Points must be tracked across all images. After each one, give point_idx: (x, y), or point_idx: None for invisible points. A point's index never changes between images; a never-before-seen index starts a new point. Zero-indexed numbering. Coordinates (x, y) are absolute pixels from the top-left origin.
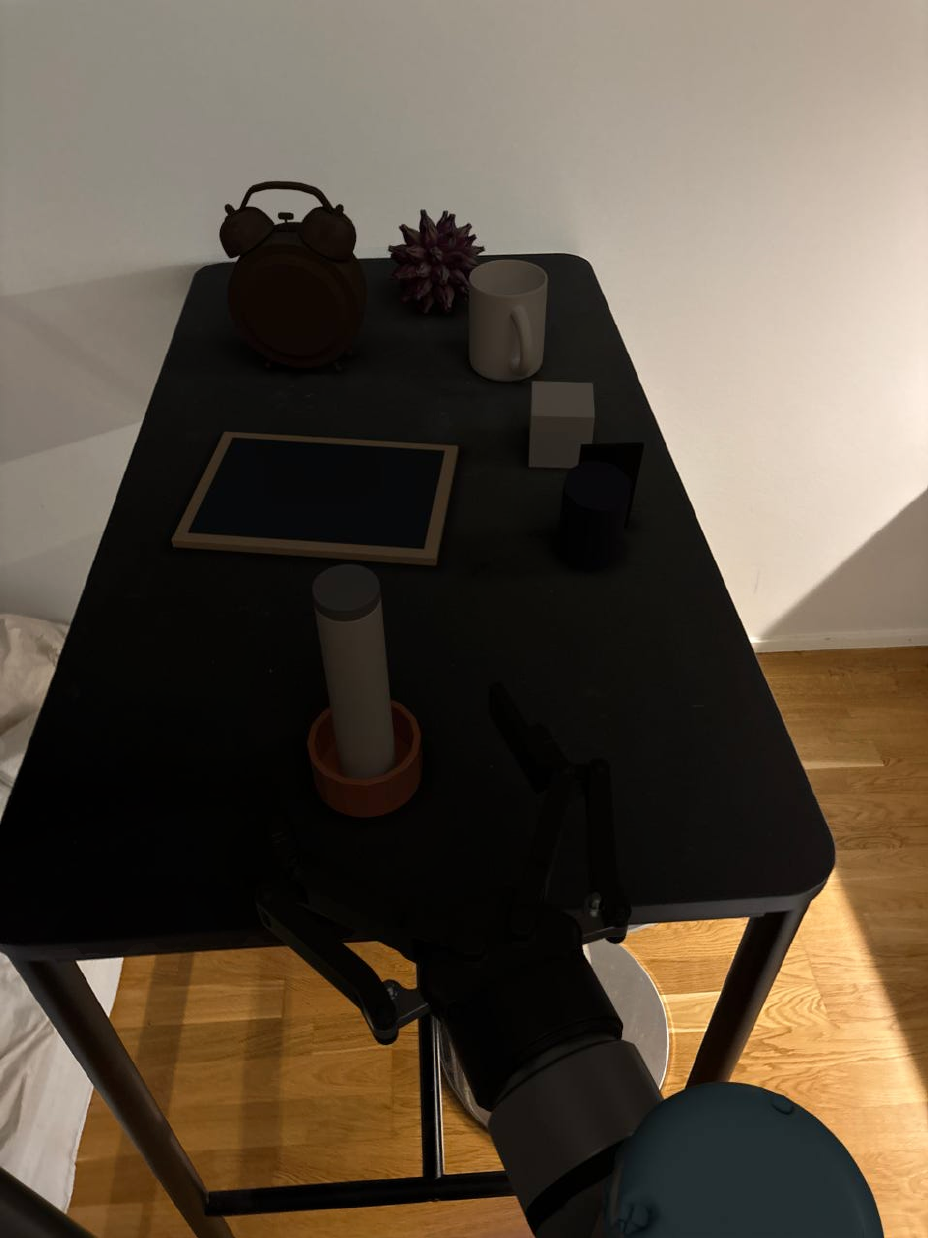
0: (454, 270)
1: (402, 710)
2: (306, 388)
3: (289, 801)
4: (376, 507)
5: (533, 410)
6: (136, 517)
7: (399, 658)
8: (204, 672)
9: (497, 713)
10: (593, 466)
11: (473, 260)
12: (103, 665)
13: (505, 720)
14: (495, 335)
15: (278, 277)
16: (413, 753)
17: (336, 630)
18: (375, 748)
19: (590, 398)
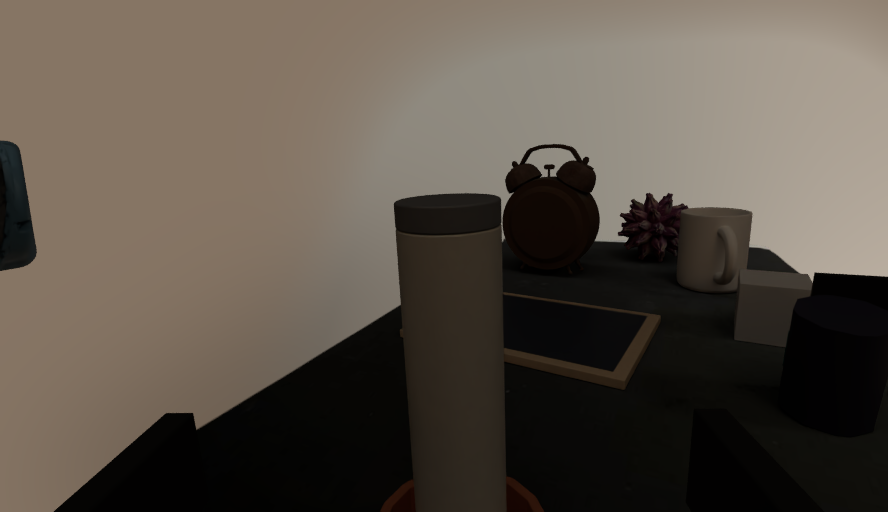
0: (668, 227)
1: (532, 504)
2: (544, 280)
3: (80, 501)
4: (573, 337)
5: (742, 281)
6: (389, 319)
7: (559, 462)
8: (357, 420)
9: (714, 491)
10: (834, 299)
11: None
12: (287, 394)
13: (744, 506)
14: (701, 250)
15: (536, 201)
16: None
17: (411, 255)
18: None
19: (807, 281)
